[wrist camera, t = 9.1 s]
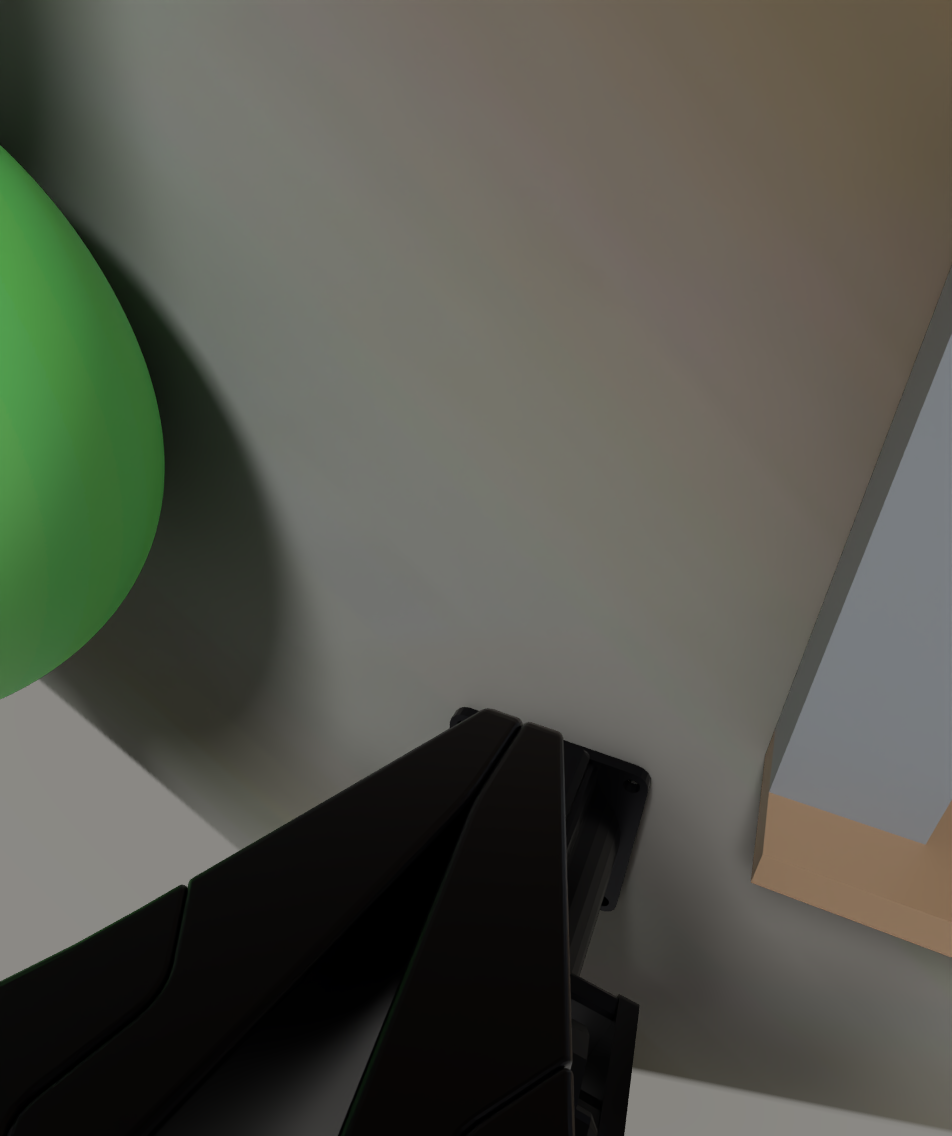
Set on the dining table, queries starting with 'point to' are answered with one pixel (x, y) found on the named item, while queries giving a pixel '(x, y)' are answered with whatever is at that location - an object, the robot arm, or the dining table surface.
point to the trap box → (878, 694)
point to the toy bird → (66, 439)
